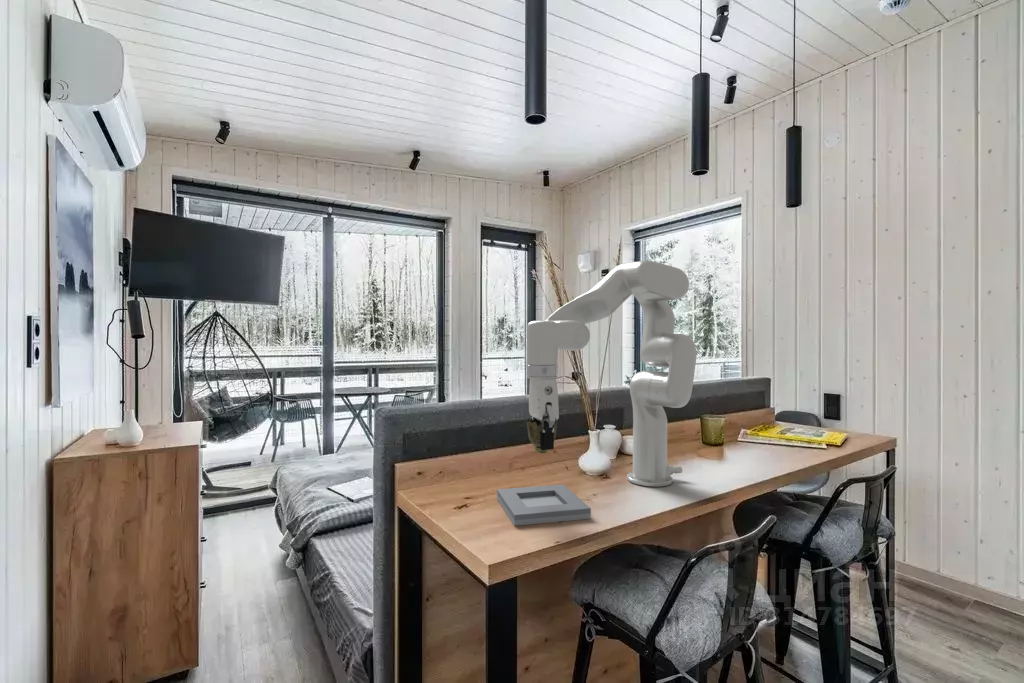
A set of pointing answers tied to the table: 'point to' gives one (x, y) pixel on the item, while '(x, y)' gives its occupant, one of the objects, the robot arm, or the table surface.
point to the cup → (537, 434)
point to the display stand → (542, 504)
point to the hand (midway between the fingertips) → (541, 444)
